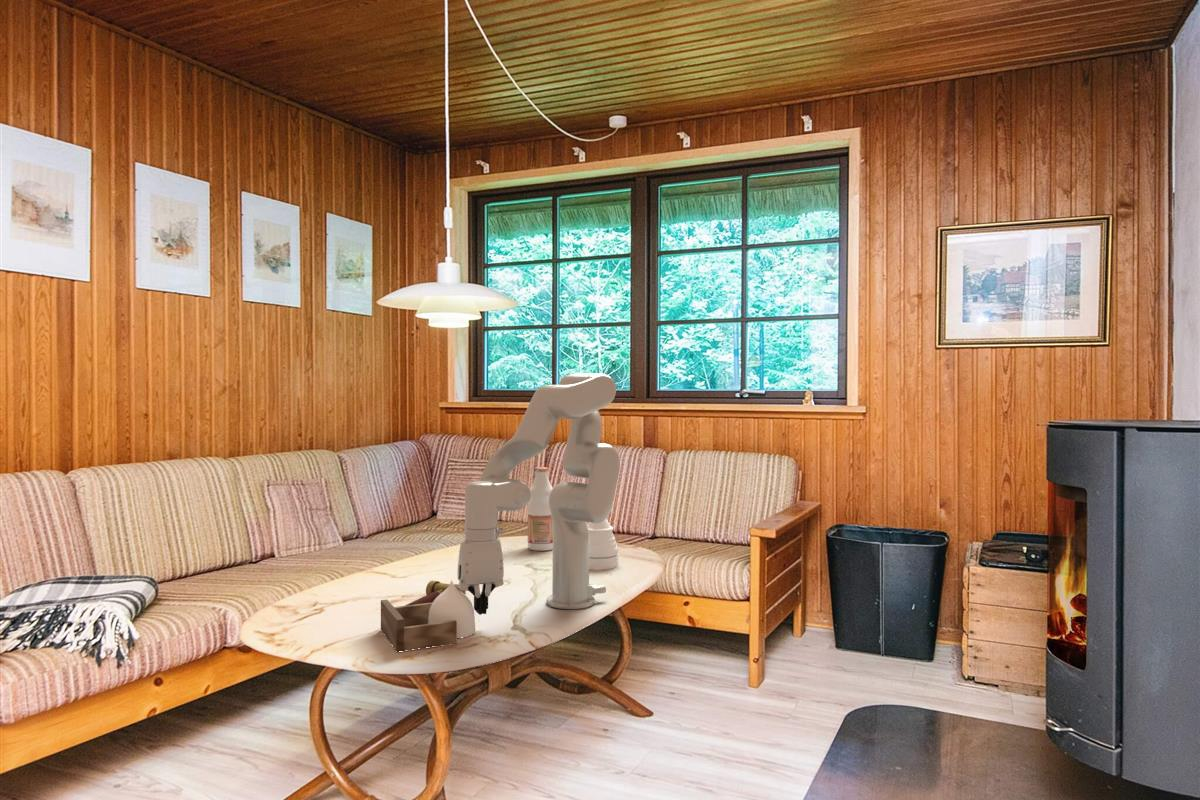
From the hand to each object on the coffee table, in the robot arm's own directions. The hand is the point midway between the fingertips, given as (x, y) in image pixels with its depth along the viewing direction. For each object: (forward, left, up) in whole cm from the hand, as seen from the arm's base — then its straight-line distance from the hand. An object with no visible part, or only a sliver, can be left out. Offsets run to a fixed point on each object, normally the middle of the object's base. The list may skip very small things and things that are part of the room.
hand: (481, 612), depth 185 cm
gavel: (+7, -24, -4) cm, 25 cm away
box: (+15, 0, -4) cm, 15 cm away
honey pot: (-54, -46, -4) cm, 71 cm away
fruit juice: (-47, -76, -4) cm, 89 cm away
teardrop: (+7, 0, -4) cm, 8 cm away
